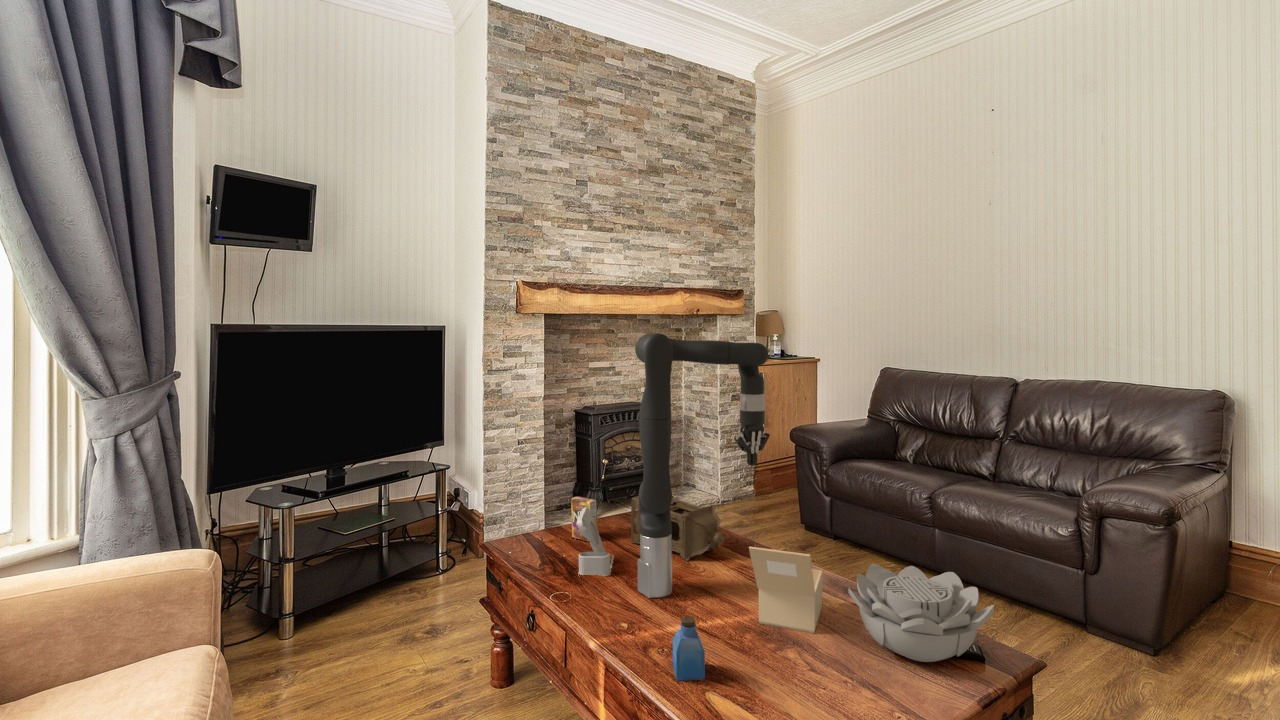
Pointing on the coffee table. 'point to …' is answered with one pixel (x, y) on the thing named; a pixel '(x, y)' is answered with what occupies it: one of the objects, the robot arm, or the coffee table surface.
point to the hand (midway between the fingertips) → (752, 465)
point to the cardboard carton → (791, 607)
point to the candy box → (577, 507)
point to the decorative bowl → (919, 612)
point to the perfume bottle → (688, 652)
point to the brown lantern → (686, 528)
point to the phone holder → (599, 557)
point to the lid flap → (783, 571)
